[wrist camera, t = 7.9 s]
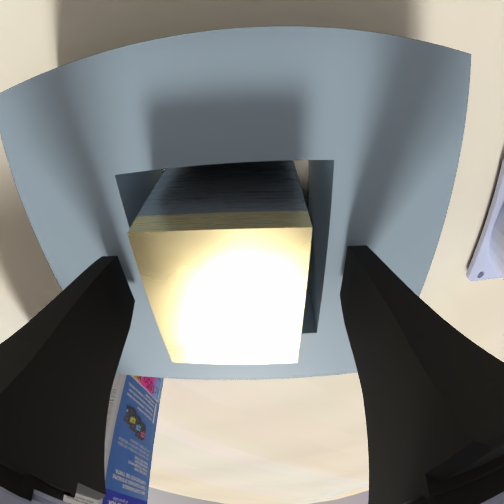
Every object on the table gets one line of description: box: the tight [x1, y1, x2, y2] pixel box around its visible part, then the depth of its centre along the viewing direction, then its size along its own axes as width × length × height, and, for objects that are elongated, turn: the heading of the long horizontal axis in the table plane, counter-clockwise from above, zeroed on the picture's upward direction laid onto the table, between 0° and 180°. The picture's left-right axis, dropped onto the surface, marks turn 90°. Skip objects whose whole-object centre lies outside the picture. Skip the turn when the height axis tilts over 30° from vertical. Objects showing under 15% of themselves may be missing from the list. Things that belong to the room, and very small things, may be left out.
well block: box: [0, 26, 471, 380], centre depth 12 cm, size 14×14×4 cm
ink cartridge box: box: [63, 374, 164, 504], centre depth 16 cm, size 10×6×14 cm, turn 104°
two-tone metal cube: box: [127, 160, 312, 364], centre depth 11 cm, size 4×5×6 cm
